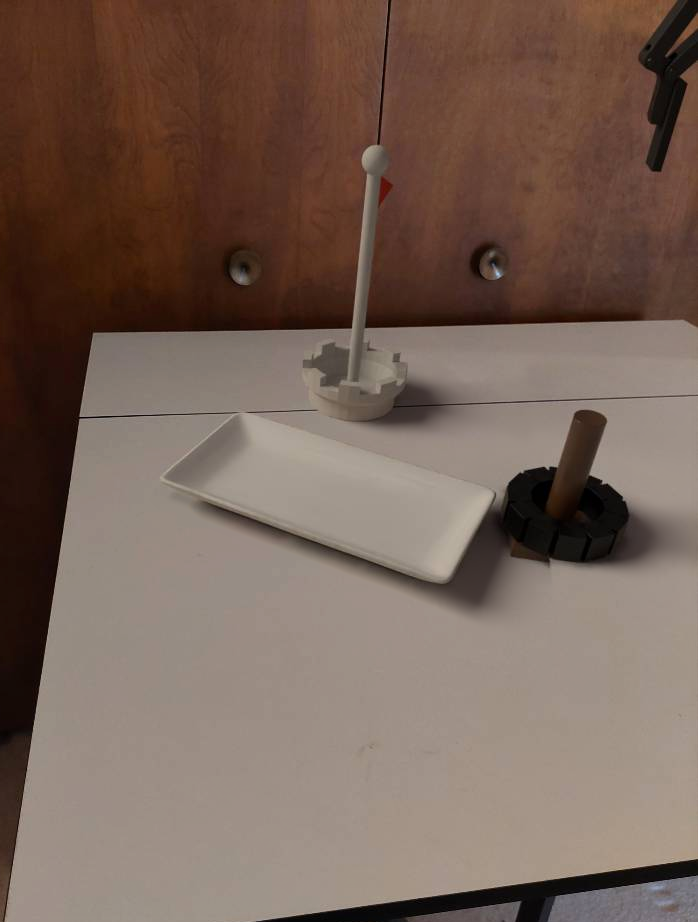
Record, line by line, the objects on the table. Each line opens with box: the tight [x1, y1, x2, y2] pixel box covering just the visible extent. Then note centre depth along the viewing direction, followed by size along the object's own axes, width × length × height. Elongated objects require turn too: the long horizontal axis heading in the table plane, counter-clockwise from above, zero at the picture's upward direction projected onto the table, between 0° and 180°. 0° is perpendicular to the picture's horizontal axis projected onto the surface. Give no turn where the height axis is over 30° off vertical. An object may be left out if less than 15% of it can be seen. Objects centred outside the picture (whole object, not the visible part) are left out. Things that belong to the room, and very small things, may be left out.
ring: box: [500, 465, 630, 563], centre depth 81 cm, size 12×12×3 cm
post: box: [508, 409, 608, 562], centre depth 78 cm, size 9×9×14 cm
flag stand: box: [301, 144, 409, 422], centre depth 93 cm, size 13×13×30 cm
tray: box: [159, 411, 497, 585], centre depth 83 cm, size 17×32×4 cm, turn 63°
